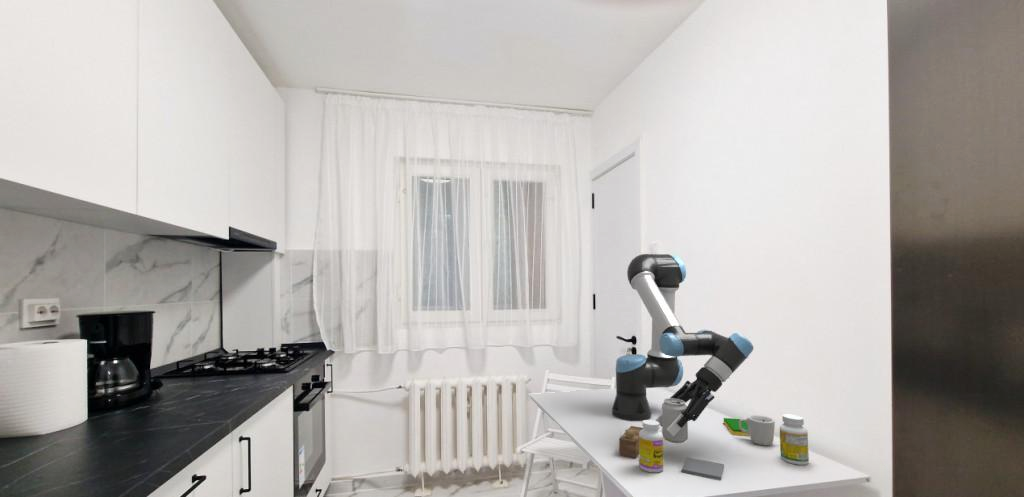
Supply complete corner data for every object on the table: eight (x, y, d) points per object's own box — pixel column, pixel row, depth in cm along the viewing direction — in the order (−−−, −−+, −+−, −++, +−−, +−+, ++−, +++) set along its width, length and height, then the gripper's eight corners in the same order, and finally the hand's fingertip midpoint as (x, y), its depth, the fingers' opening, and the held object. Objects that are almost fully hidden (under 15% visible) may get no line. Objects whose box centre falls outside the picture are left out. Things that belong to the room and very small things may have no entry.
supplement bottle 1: (654, 475, 121) (653, 427, 122) (634, 467, 126) (633, 421, 127) (668, 469, 125) (667, 423, 126) (649, 461, 130) (648, 417, 131)
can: (690, 445, 132) (689, 404, 133) (663, 443, 134) (663, 403, 134) (685, 436, 140) (685, 397, 140) (660, 434, 141) (660, 396, 142)
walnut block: (631, 441, 147) (631, 419, 148) (646, 444, 145) (646, 422, 145) (619, 455, 135) (619, 431, 135) (635, 458, 132) (635, 434, 133)
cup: (735, 441, 148) (735, 416, 149) (743, 435, 154) (742, 411, 154) (772, 449, 141) (771, 423, 141) (778, 443, 146) (777, 418, 147)
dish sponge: (733, 436, 154) (732, 429, 154) (723, 424, 167) (723, 417, 167) (755, 438, 152) (755, 430, 152) (743, 425, 166) (743, 419, 166)
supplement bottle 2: (807, 467, 127) (805, 421, 128) (778, 461, 131) (776, 416, 132) (810, 460, 132) (808, 416, 133) (783, 454, 137) (781, 411, 138)
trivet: (687, 459, 132) (687, 457, 132) (724, 466, 127) (723, 463, 127) (681, 472, 123) (681, 469, 123) (721, 480, 118) (721, 477, 118)
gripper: (740, 391, 129) (688, 449, 126) (704, 375, 149) (658, 425, 147) (723, 373, 129) (670, 431, 126) (688, 359, 149) (643, 409, 147)
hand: (664, 428), depth 136 cm, fingers closed on can, 7 cm apart
